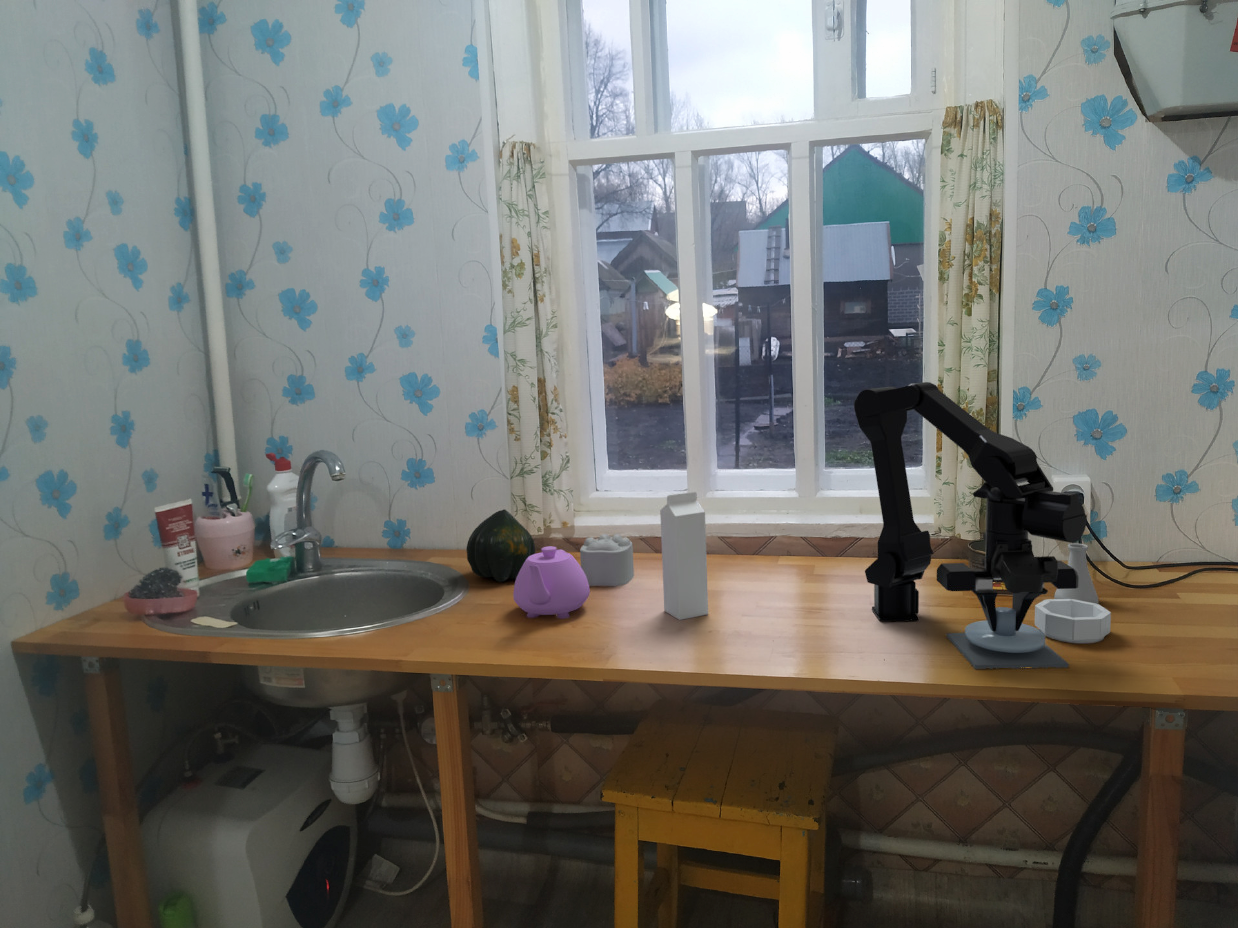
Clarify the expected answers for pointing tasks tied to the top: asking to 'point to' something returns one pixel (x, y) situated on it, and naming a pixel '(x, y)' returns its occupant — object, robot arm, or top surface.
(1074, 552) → the flask
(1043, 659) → the plate
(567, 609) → the teapot
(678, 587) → the milk
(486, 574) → the squash
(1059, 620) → the bowl
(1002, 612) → the lid
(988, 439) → the robot arm
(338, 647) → the top surface
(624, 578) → the grey lumpy-topped tub
